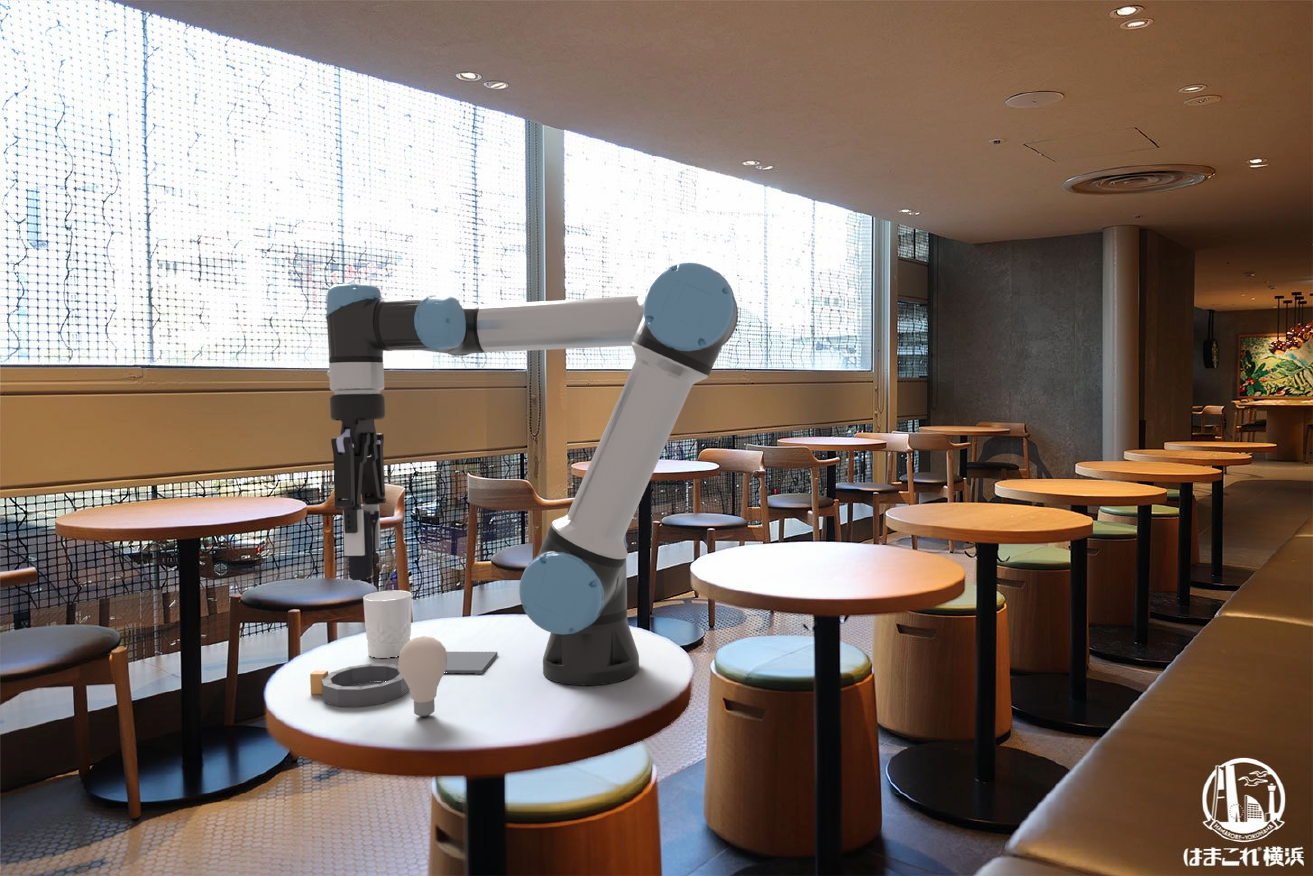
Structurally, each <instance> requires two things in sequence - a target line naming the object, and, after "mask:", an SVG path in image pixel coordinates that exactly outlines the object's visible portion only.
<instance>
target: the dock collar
mask: <svg viewBox="0 0 1313 876" xmlns="http://www.w3.org/2000/svg"><path fill="white" fill-rule="evenodd" d="M309 677H310V678H309V679H310V682H309V683H310V695H321V698H322V697H323V698H322V700H323V703H324V702H325V703H324V704H327V703H329V704H328V705H330V704H331V705H330V706H335V707H337V708H339V707H340V708H362V707H368V706H374V705H375V706H376V705H380V704H386V703H388V702H391V701H394V700H396V699H395V698H397V699H399V698H402V697H403V696H404V695H405V694H406V693H407V692H408V691H409V690H410V689H409V687H408V685H407V683H406V682H405V680H404V678H403V677H402V675H401V674H400V670H399V666H398V664H394V663H366V664H359V665H352V666H351V665H350V666H347V667H344V668H340V669H338V670H334V671H331V672H329V670H314V671H313V672H310V674H309ZM370 681H371V682H370ZM372 681H382V682H380V683H377V684H369V685H362V686H353V684H355V685H360V684H359V683H362V684H367V683H366V682H368V683H373V682H372ZM383 681H384V682H383ZM385 681H386V682H385ZM350 685H351V686H350ZM408 689H409V690H408ZM407 690H408V691H407ZM406 691H407V692H406ZM405 692H406V693H405ZM404 693H405V694H404ZM393 699H394V700H393Z"/></svg>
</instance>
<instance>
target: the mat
mask: <svg viewBox="0 0 1313 876" xmlns="http://www.w3.org/2000/svg"><path fill="white" fill-rule="evenodd" d="M446 654H447V659H448V661H447V666H446V670H445V673H446V672H447V673H475V674H474V675H483V674H484V672H485V671H486V670H487V668H489V666H490V665H491V664H492V663H493V661H494V660H495V659H496V658H497V657H498V651H446ZM496 656H497V657H496ZM495 657H496V658H495ZM491 662H492V663H491ZM490 663H491V664H490ZM489 664H490V665H489ZM488 665H489V666H488Z"/></svg>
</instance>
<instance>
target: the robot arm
mask: <svg viewBox="0 0 1313 876" xmlns="http://www.w3.org/2000/svg"><path fill="white" fill-rule="evenodd" d="M729 283H730V282H729V281H728V280H727V278H725V277H724V276H723V275H722V274H721V273H720V272H718V271H716V270H715V269H713V268H711V267H709V266H707V265H705V264H701V263H696V262H683V263H677V264H674V265H672V266H669V267H668V268H665V269H664V270H662V271H661V272H660V273H659V274H658V275H656V277H655V278H654V279H653V280H652V282H651V283H650V285H649V286H648V288H646V289H645V290H644V291H643V292H642V294H640V295H634V296H631V295H630V296H615V297H599V298H598V297H597V298H582V299H581V298H579V299H563V300H562V299H561V300H545V301H529V302H528V301H527V302H526V301H525V302H507V303H492V304H491V303H489V304H471V305H470V304H469V305H461V303H460V301H459V300H458V299H457V298H455V297H452V296H437V295H428V296H420V297H419V296H418V297H402V298H383V297H382V294H381V289H379V287H377V286H375V285H371V284H369V285H368V284H363V283H362V284H359V283H358V284H355V283H354V284H352V283H347V284H336V285H333V286H331V287H330V288H329V289H328V291H327V294H326V314H325V320H326V326H327V327H326V329H327V342H328V343H327V344H328V345H327V346H328V363H329V364H328V370H327V371H326V376H327V377H328V378H329V390H330V391H332V392H334V394H332V395H331V397H329V407H330V411H329V412H330V413H329V414H330V419H331V420H333V421H340V422H341V426H340V436H333V437H331V439H330V442H331V443H330V444H331V449H332V453H333V456H332V457H333V488H334V489H333V493H334V496H333V497H334V509H335V511H342V526H343V552H344V553H343V555H344V557H345V556H346V557H348V556H363V555H365V543H364V515H363V510H359V509H360V502H361V503H362V504H361V508H362V509H364V510H366V511H369V512H370V514H374V511H379V519H378V521H377V524H376V530H375V549H381V548H382V544H381V543H382V542H381V541H382V540H381V519H380V517H381V516H380V515H381V513H380V504H383V505H384V504H385V503H386V501H387V499H386V485H385V483H386V482H385V481H386V480H385V465H384V464H385V463H384V461H385V460H384V442H385V441H384V440H385V435H384V433H377V430H376V426H375V420H383V419H384V418H385V417H386V408H385V407H386V405H385V401H386V400H385V396H384V394H381V391H383V390H384V389H385V372H384V371H385V370H384V351H385V352H393V351H394V352H395V351H425V352H432V353H439V354H440V353H442V354H448V355H449V356H450V355H451V356H456V357H458V356H460V357H461V356H468V355H472V354H483V353H500V352H501V353H503V352H524V351H525V352H526V351H527V352H528V351H544V350H545V351H547V350H550V351H551V350H568V349H570V350H572V349H591V348H592V349H593V348H609V347H610V348H612V347H614V348H615V347H632V350H633V353H634V355H635V361H634V363H633V365H632V367H631V370H630V372H629V375H628V377H627V379H626V381H625V383H624V386H623V387H622V390H621V392H620V394H619V397H618V400H617V401H616V403H615V405H614V408H613V410H612V412H611V415H610V418H609V419H608V422H607V424H606V427H605V429H604V431H603V433H602V435H601V438H600V440H599V443H598V444H597V447H596V449H595V451H594V453H593V456H592V458H591V460H590V463H589V465H588V467H587V469H586V471H585V473H584V476H583V478H582V480H581V483H580V485H579V487H578V489H577V492H576V495H575V496H574V499H573V500H572V501H573V502H572V503H571V505H570V508H569V510H568V512H567V514H566V515H563V516H560V517H559V518H556V519H554V520H553V521H552V522H551V524H550V526H549V529H548V531H547V533H546V535H545V537H544V539H543V542H542V544H541V546H540V549H539V551H538V553H537V556H536V557H534V558H533V559H532V560H531V561H529V563H528V565H527V566H526V567H525V569H524V570H523V573H522V574H521V575H522V576H521V578H520V582H519V589H518V591H519V600H520V603H521V605H522V608H523V610H524V613H525V614H526V615H527V617H528V618H529V619H530V620H531V621H532V622H533V624H534V625H536V626H537V627H539V628H541V630H544V631H545V632H548V633H550V634H549V637H548V641H547V644H546V647H545V650H544V655H543V657H542V673H543V675H544V677H546V678H547V679H548V680H551V681H553V682H556V683H561V684H566V685H576V686H597V685H606V684H612V683H617V682H621V681H625V680H628V679H630V678H632V677H633V676H635V675H637V673H638V672H639V670H640V655H639V652H638V649H637V646H636V643H635V640H634V637H633V634H632V631H631V627H630V625H629V621H628V590H627V589H628V587H627V586H628V583H627V579H628V578H627V577H628V576H627V575H628V574H627V557H628V556H629V554H628V550H627V549H628V543H627V540H626V538H627V537H626V535H627V531H628V529H629V527H630V525H631V523H632V520H633V518H634V516H635V514H636V511H637V509H638V507H639V504H640V502H641V501H642V497H643V496H644V494H645V491H646V488H647V487H648V484H649V482H650V480H651V478H652V476H653V474H654V472H655V469H656V467H657V464H658V462H659V460H660V458H661V456H662V454H663V451H664V449H665V447H666V445H667V442H668V440H669V438H670V436H671V433H672V431H673V430H674V427H675V424H676V422H677V419H678V418H679V416H680V413H681V411H682V409H683V407H684V404H685V403H686V400H687V398H688V396H689V395H690V391H691V389H692V387H693V385H695V384H697V383H699V382H700V381H703V380H706V379H708V378H709V376H710V374H711V371H712V370H713V368H714V365H715V363H716V360H717V359H718V356H719V353H720V351H721V350H722V348H723V346H724V345H725V344H727V342H728V341H729V340H730V339H731V338H732V336H733V335H734V332H735V331H736V328H737V325H738V319H739V318H738V317H739V310H738V309H739V308H738V304H737V301H736V298H735V294H734V291H733V288H732V287H731V285H730V284H729ZM361 500H362V501H361ZM371 525H372V522H371ZM372 549H373V527H372Z"/></svg>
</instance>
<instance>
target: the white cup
mask: <svg viewBox="0 0 1313 876" xmlns="http://www.w3.org/2000/svg"><path fill="white" fill-rule="evenodd" d="M412 595H413V594H412V592H410V591H408V590H397V589H396V590H382V591H375V592H371V593H368V594H366V595H364V596H362V598H363V612H364V624H365V625H364V628H365V636H366V640H367V654H368V656H369V657H370V656H371V657H370V658H373V657H375V658H374V659H380V658H387V659H391V658H390V657H395V658H397V657H396V656H399V655H400V651H401V650H402V648H403V647H404V645H405V644H406V643H408V642H409V641H411V634H412V633H411V632H412V627H411V626H412V601H413V600H412V598H413V597H412Z"/></svg>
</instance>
